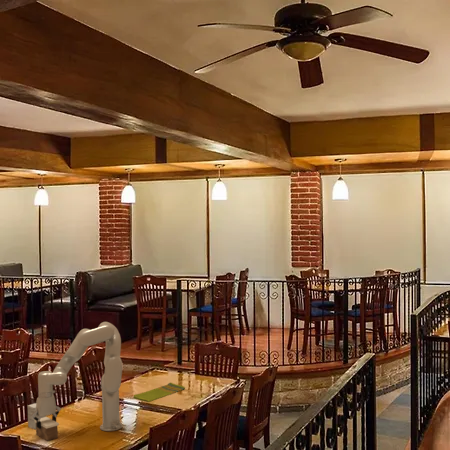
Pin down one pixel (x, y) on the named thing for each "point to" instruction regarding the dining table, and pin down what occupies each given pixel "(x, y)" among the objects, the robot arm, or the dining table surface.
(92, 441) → the dining table surface
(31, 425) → the supplement box
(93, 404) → the dining table surface
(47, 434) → the crate
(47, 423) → the lid
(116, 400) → the robot arm
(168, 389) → the dish towel
